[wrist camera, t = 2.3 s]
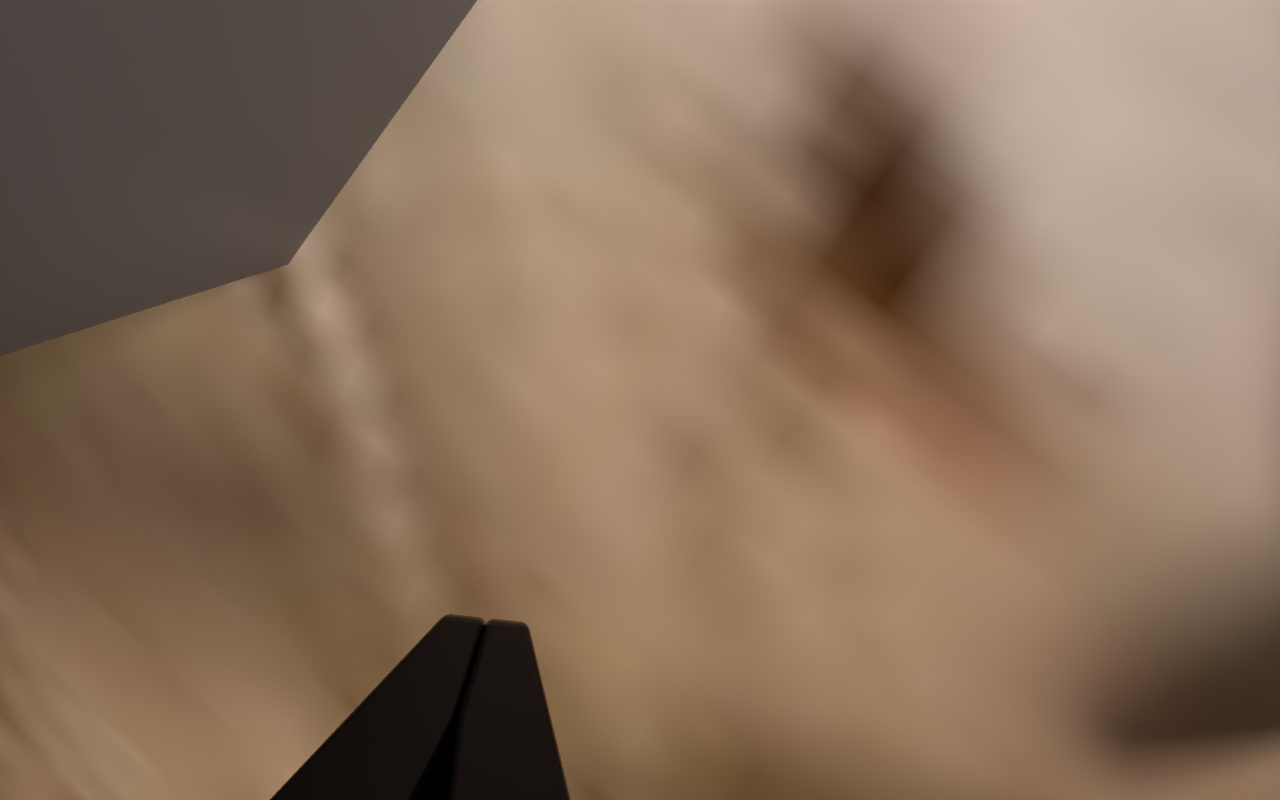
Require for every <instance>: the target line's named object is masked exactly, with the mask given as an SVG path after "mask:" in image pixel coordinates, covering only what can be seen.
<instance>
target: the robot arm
mask: <svg viewBox="0 0 1280 800" xmlns="http://www.w3.org/2000/svg"><path fill="white" fill-rule="evenodd" d="M270 800H570V796H569V792H568V788H567V783H566V779H565V775H564V771H563V767H562V763H561V759H560V754H559V750H558V746H557V742H556V738H555V734H554V730H553V725H552V721H551V717H550V713H549V709H548V705H547V701H546V696H545V692H544V688H543V684H542V680H541V676H540V672H539V667H538V663H537V659H536V655H535V651H534V647H533V643H532V638H531V634H530V630H529V627H528V626H527V624H525V623H523V622H517V621H508V620H498V619H491V620H489V621H488V622H487V624H486V623H485V621H484V620H483V619H482V618H479V617H471V616H462V615H453V614H449V615H446V616H444V617H442V618H441V619H440V620H439V621H438V622H437V623H436V624H435V625H434V626H433V627H432V629H431V630H430V631H429V632H428V633H427V634H426V635H425V636H424V637H423V638H422V639H421V640H420V641H419V642H418V643H417V644H416V645H415V647H414V648H413V649H412V650H411V651H410V652H409V653H408V654H407V655H406V656H405V657H404V658H403V659H402V660H401V661H400V662H399V663H398V665H397V666H396V667H395V668H394V669H393V670H392V671H391V672H390V673H389V674H388V675H387V676H386V677H385V678H384V679H383V680H382V681H381V683H380V684H379V685H378V686H377V687H376V688H375V689H374V690H373V691H372V692H371V693H370V694H369V695H368V696H367V697H366V698H365V699H364V701H363V702H362V703H361V704H360V705H359V706H358V707H357V708H356V709H355V710H354V711H353V712H352V713H351V714H350V715H349V716H348V717H347V719H346V720H345V721H344V722H343V723H342V724H341V725H340V726H339V727H338V728H337V729H336V730H335V731H334V732H333V733H332V734H331V736H330V737H329V738H328V739H327V740H326V741H325V742H324V743H323V744H322V745H321V746H320V747H319V748H318V749H317V750H316V751H315V752H314V754H313V755H312V756H311V757H310V758H309V759H308V760H307V761H306V762H305V763H304V764H303V765H302V766H301V767H300V768H299V769H298V770H297V772H296V773H295V774H294V775H293V776H292V777H291V778H290V779H289V780H288V781H287V782H286V783H285V784H284V785H283V786H282V787H281V788H280V790H279V791H278V792H277V793H276V794H275V795H274V796H273V797H272V798H271V799H270Z"/></svg>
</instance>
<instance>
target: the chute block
mask: <svg viewBox="0 0 1280 800" xmlns="http://www.w3.org/2000/svg"><path fill="white" fill-rule="evenodd" d="M476 1H477V0H0V355H3V354H6V353H9V352H13V351H16V350H19V349H22V348H25V347H28V346H31V345H35V344H38V343H41V342H44V341H47V340H50V339H54V338H57V337H60V336H63V335H66V334H69V333H72V332H76V331H79V330H82V329H85V328H88V327H91V326H94V325H98V324H101V323H104V322H107V321H110V320H113V319H117V318H120V317H123V316H126V315H129V314H132V313H135V312H139V311H142V310H145V309H148V308H151V307H154V306H157V305H161V304H164V303H167V302H170V301H173V300H176V299H180V298H183V297H186V296H189V295H192V294H195V293H198V292H202V291H205V290H208V289H211V288H214V287H217V286H220V285H224V284H227V283H230V282H233V281H236V280H239V279H242V278H246V277H249V276H252V275H255V274H258V273H261V272H265V271H268V270H271V269H274V268H277V267H280V266H283V265H287V264H288V263H289V262H290V260H291V259H292V257H293V256H294V255H295V253H296V252H297V250H298V249H299V248H300V246H301V245H302V243H303V242H304V241H305V239H306V238H307V236H308V235H309V234H310V232H311V231H312V230H313V228H314V227H315V225H316V224H317V223H318V221H319V220H320V218H321V217H322V216H323V214H324V213H325V211H326V210H327V209H328V207H329V206H330V204H331V203H332V202H333V200H334V199H335V197H336V196H337V195H338V193H339V192H340V190H341V189H342V188H343V186H344V185H345V183H346V182H347V181H348V179H349V178H350V177H351V175H352V174H353V172H354V171H355V170H356V168H357V167H358V165H359V164H360V163H361V161H362V160H363V158H364V157H365V156H366V154H367V153H368V151H369V150H370V149H371V147H372V146H373V144H374V143H375V142H376V140H377V139H378V137H379V136H380V135H381V133H382V132H383V130H384V129H385V128H386V126H387V125H388V124H389V122H390V121H391V119H392V118H393V117H394V115H395V114H396V112H397V111H398V110H399V108H400V107H401V105H402V104H403V103H404V101H405V100H406V98H407V97H408V96H409V94H410V93H411V91H412V90H413V89H414V87H415V86H416V84H417V83H418V82H419V80H420V79H421V77H422V76H423V75H424V73H425V72H426V71H427V69H428V68H429V66H430V65H431V64H432V62H433V61H434V59H435V58H436V57H437V55H438V54H439V52H440V51H441V50H442V48H443V47H444V45H445V44H446V43H447V41H448V40H449V38H450V37H451V36H452V34H453V33H454V31H455V30H456V29H457V27H458V26H459V24H460V23H461V22H462V20H463V19H464V18H465V16H466V15H467V13H468V12H469V11H470V9H471V8H472V6H473V5H474V4H475V2H476Z"/></svg>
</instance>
